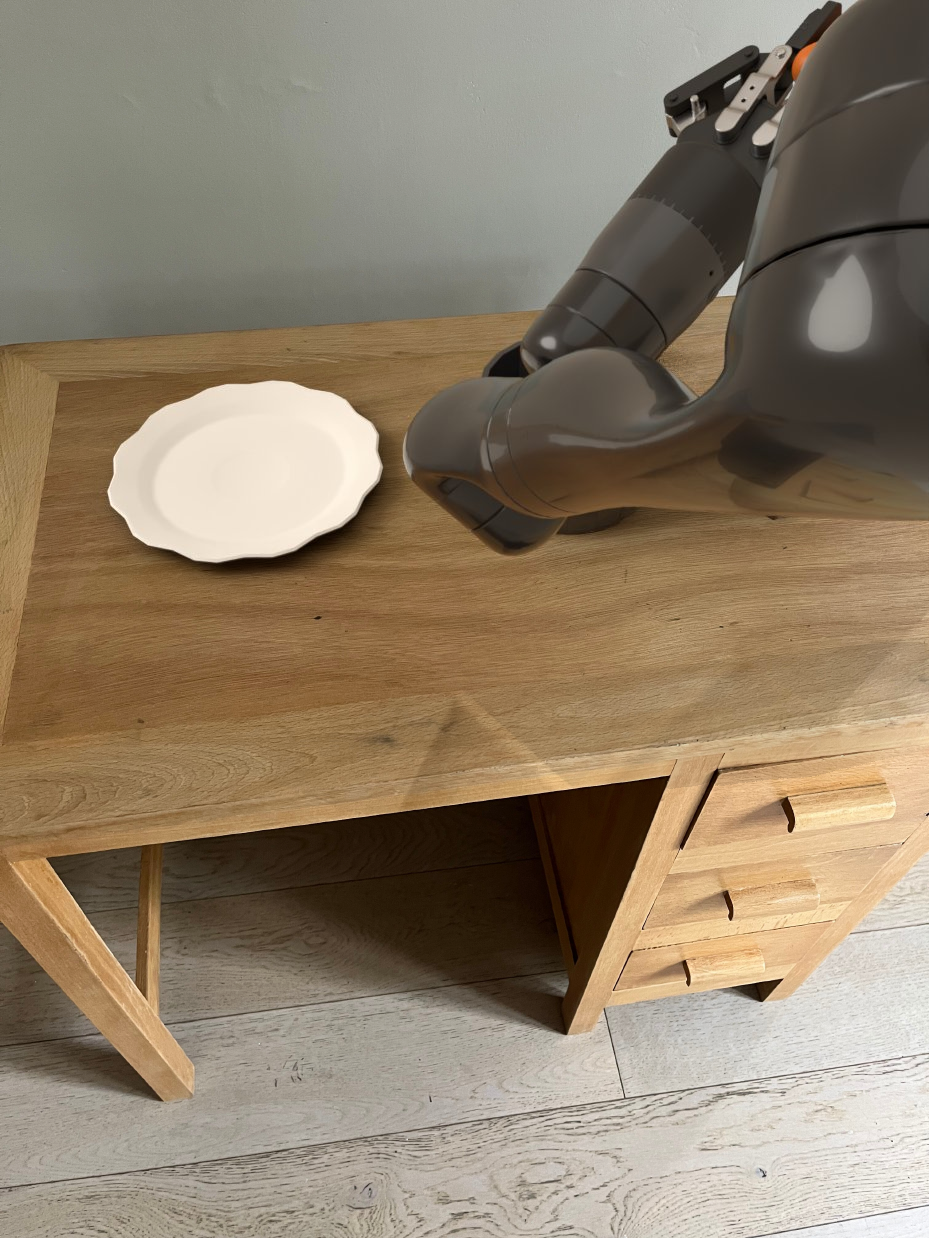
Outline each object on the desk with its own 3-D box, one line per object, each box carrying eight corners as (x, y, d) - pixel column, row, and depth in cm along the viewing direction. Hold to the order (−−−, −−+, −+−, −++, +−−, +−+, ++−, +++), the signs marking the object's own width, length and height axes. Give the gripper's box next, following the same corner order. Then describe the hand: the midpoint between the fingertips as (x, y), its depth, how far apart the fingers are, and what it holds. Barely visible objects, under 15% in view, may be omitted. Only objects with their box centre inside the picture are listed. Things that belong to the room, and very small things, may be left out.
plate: (424, 430, 86) (423, 415, 85) (303, 608, 71) (300, 593, 70) (210, 373, 92) (206, 358, 90) (58, 527, 77) (50, 512, 76)
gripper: (765, 254, 44) (982, -13, 43) (564, 166, 50) (753, -68, 50) (771, 338, 50) (960, 107, 50) (593, 251, 57) (760, 45, 56)
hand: (856, 21), depth 50 cm, fingers closed
